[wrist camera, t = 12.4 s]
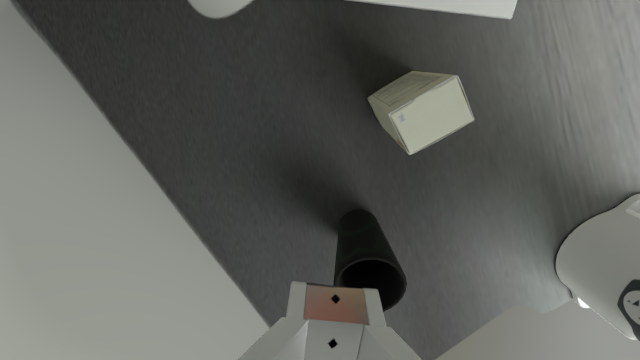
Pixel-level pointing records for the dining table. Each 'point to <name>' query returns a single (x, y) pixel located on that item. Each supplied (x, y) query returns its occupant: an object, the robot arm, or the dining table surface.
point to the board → (456, 6)
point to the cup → (368, 259)
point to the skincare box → (421, 108)
